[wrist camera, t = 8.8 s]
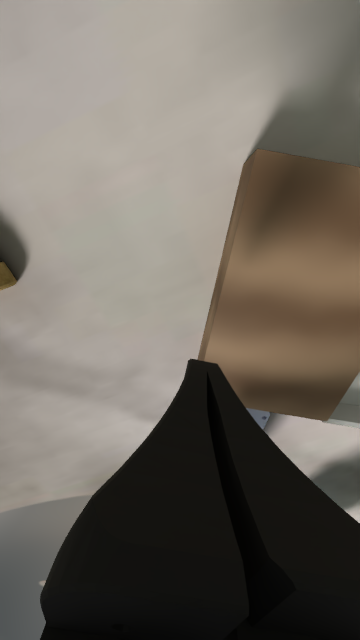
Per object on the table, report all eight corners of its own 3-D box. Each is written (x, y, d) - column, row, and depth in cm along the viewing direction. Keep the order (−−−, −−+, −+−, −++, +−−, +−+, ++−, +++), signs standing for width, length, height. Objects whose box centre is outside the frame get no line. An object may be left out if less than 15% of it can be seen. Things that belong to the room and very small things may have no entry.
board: (307, 391, 22) (327, 421, 19) (194, 372, 22) (194, 399, 19) (415, 195, 15) (479, 188, 11) (243, 164, 15) (257, 148, 11)
